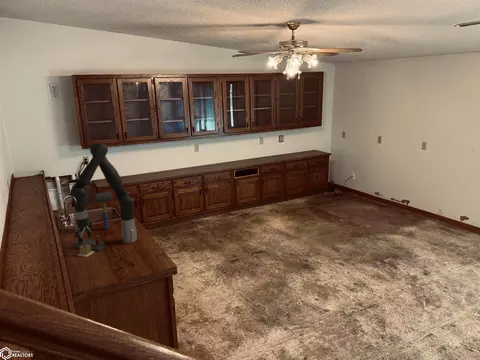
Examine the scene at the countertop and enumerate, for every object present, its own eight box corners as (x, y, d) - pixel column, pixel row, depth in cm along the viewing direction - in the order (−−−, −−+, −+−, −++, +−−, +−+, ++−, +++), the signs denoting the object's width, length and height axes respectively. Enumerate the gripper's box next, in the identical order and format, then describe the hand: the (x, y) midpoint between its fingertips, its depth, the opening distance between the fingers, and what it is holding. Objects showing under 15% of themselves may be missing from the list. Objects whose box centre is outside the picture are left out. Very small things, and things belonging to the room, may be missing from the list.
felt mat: (94, 251, 251) (94, 251, 251) (87, 256, 243) (86, 256, 243) (85, 250, 253) (85, 249, 253) (77, 255, 246) (76, 254, 246)
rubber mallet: (98, 232, 284) (94, 195, 277) (97, 228, 291) (93, 192, 283) (115, 229, 290) (112, 192, 282) (114, 226, 296) (110, 190, 288)
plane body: (105, 247, 258) (103, 233, 256) (98, 251, 252) (97, 237, 249) (81, 243, 264) (80, 230, 261) (74, 247, 257) (73, 234, 255)
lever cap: (91, 252, 249) (90, 244, 248) (87, 254, 245) (86, 246, 244) (84, 251, 251) (83, 242, 250) (80, 253, 247) (79, 245, 245)
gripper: (79, 221, 233) (82, 244, 238) (93, 213, 247) (96, 235, 251) (69, 220, 236) (73, 243, 240) (84, 212, 249) (87, 234, 253)
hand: (85, 239), depth 245 cm, fingers open, 8 cm apart
